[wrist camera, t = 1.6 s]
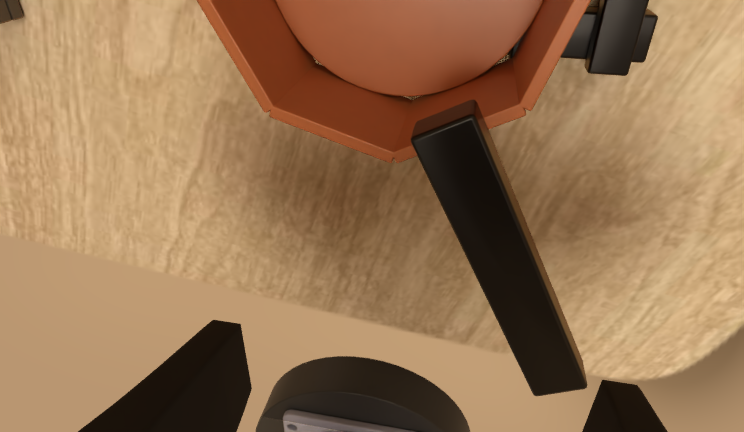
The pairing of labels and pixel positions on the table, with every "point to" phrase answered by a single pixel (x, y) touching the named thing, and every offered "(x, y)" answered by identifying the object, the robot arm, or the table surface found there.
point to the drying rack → (611, 36)
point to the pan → (427, 122)
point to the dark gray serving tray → (10, 10)
